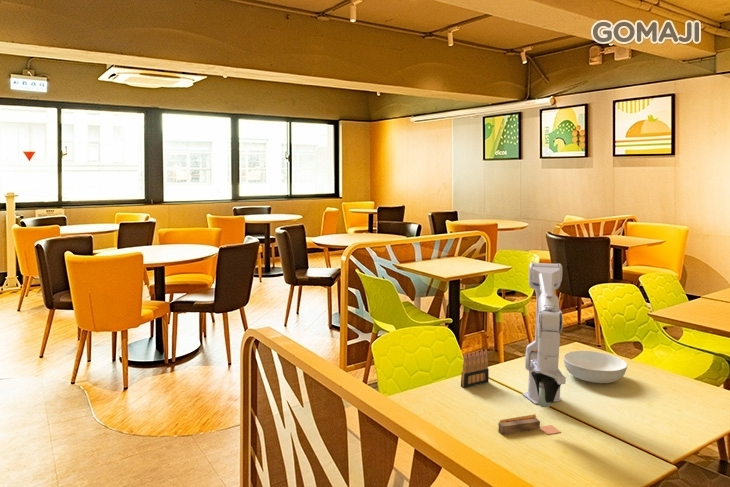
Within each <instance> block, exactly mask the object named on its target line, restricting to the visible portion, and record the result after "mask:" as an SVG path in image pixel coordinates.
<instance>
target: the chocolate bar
mask: <svg viewBox="0 0 730 487" xmlns="http://www.w3.org/2000/svg"><path fill="white" fill-rule="evenodd" d="M535 418H537V415H536V413H535V414H529V415H522V416H517V417H511V418H510V417H509V418H505V419H500V420H499V421H498V423H497V425H498V426H499V423H505V422H512V421H520V420H527V419H535Z"/></svg>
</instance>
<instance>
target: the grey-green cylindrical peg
mask: <svg viewBox="0 0 730 487" xmlns="http://www.w3.org/2000/svg"><path fill="white" fill-rule="evenodd" d="M538 406H540V407H542V408H549V407H551V402H549V403H547V402H546V400H545V389H544V384H543V382H542V381H540V382H539V404H538Z"/></svg>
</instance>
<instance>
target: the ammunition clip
mask: <svg viewBox="0 0 730 487" xmlns="http://www.w3.org/2000/svg"><path fill="white" fill-rule="evenodd" d="M488 355H489V354H488V349H487V348H485V349H484V351H483V349H481V350H480V351H479V350H477V351H476V352H475V351H472V354H471V352H470V351H469V352H468V354H467V353H466V352H465V353H464V354H463V362H462V363H463V364H462V371H461V374H460V375H461V376H460V377H461V378H460V379H461V380H460V387H461V388H463V389H466V388H470V387H476V386H480V385H484V384H488V383H489V376H490V374H489V360H488V358H489V357H488Z"/></svg>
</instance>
